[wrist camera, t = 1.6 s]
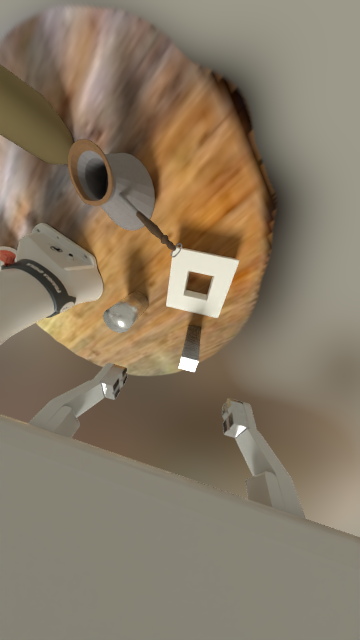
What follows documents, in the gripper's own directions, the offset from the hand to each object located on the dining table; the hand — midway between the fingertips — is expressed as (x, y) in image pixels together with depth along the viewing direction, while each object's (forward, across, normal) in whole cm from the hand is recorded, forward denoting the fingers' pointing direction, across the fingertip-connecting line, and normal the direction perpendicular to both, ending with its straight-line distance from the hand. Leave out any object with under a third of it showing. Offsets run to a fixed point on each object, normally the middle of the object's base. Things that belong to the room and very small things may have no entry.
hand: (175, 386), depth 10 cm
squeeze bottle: (+30, -34, +21) cm, 49 cm away
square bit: (+30, +2, -16) cm, 34 cm away
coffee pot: (+30, -14, +12) cm, 35 cm away
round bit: (+30, -17, -10) cm, 36 cm away
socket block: (+30, 0, +1) cm, 30 cm away
